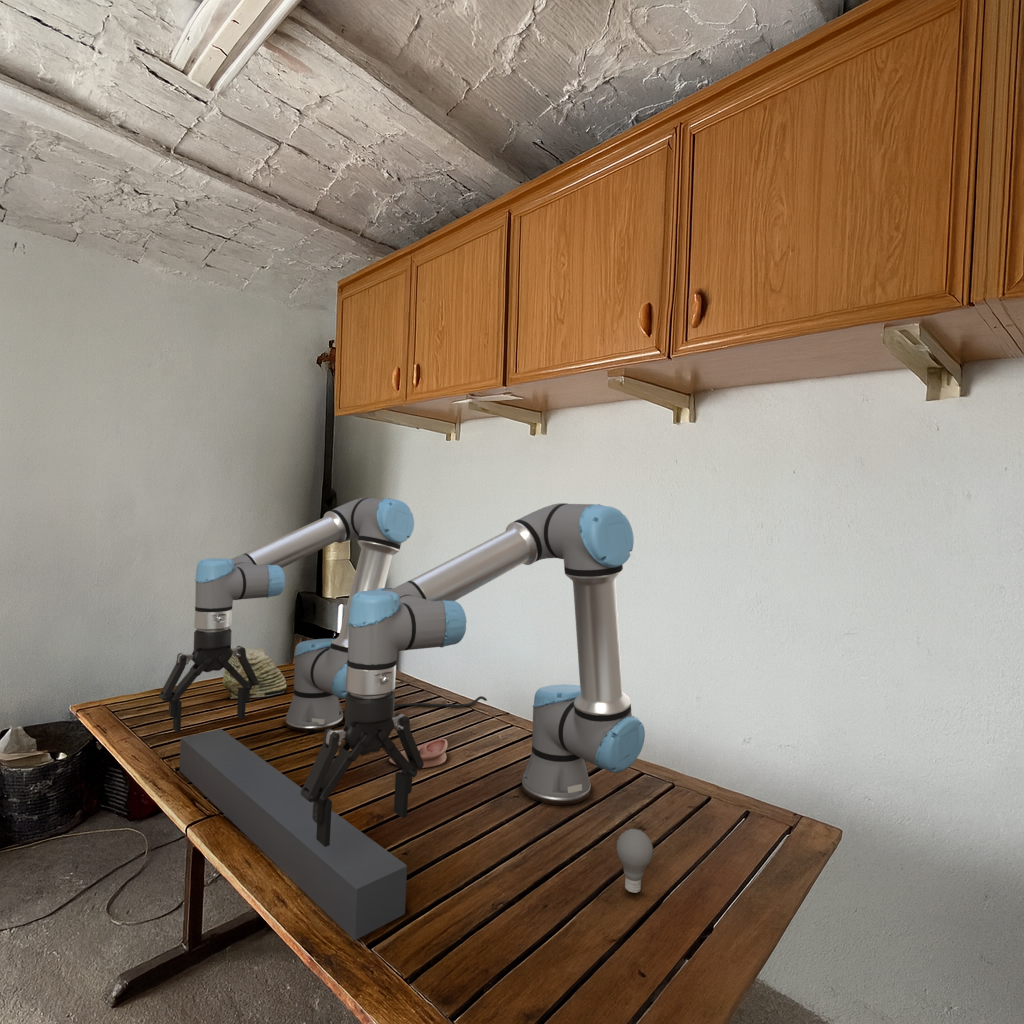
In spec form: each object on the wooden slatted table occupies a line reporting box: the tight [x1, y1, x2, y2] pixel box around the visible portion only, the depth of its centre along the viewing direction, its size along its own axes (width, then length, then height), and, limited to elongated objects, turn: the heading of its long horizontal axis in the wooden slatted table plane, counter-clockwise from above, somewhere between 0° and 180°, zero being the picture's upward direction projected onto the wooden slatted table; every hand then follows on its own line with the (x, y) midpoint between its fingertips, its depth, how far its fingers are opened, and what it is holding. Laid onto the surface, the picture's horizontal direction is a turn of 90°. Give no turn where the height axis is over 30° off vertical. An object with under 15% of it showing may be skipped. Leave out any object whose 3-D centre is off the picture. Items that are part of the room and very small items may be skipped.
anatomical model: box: [388, 738, 449, 769], centre depth 154 cm, size 13×4×12 cm
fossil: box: [222, 646, 288, 699], centre depth 198 cm, size 9×18×15 cm, turn 132°
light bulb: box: [615, 828, 654, 894], centre depth 106 cm, size 6×6×10 cm
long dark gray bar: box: [179, 728, 408, 941], centre depth 120 cm, size 74×9×8 cm, turn 45°
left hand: (209, 723), depth 141 cm, fingers open, 13 cm apart
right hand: (363, 828), depth 98 cm, fingers open, 13 cm apart
